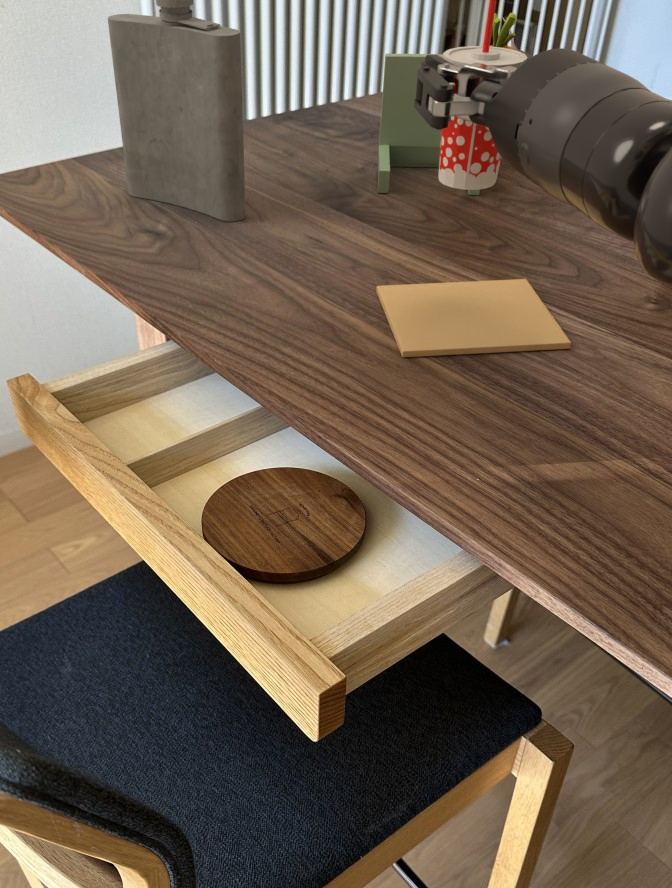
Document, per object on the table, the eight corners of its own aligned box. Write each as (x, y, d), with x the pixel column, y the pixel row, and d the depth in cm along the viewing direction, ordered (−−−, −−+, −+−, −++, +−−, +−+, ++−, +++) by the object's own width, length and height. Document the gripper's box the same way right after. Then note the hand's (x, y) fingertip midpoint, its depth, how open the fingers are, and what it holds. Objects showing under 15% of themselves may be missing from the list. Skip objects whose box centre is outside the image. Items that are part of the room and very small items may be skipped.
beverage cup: (507, 170, 70) (542, -31, 61) (503, 196, 66) (540, -17, 56) (433, 164, 71) (456, -34, 62) (424, 189, 67) (448, -21, 58)
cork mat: (525, 284, 79) (526, 278, 78) (569, 349, 70) (571, 342, 69) (376, 291, 78) (376, 285, 78) (402, 357, 69) (402, 351, 69)
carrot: (462, 140, 110) (480, 7, 100) (501, 140, 110) (522, 6, 100) (467, 153, 107) (486, 15, 97) (507, 153, 106) (530, 15, 96)
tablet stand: (471, 164, 103) (487, 54, 95) (479, 195, 96) (497, 78, 88) (377, 163, 104) (385, 53, 96) (377, 193, 97) (386, 76, 89)
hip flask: (122, 193, 97) (97, -12, 84) (146, 183, 100) (125, -18, 86) (234, 223, 90) (225, 5, 77) (256, 211, 93) (251, -2, 79)
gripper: (698, 56, 52) (565, 5, 64) (479, 71, 49) (384, 15, 62) (661, 182, 57) (544, 112, 69) (460, 201, 54) (376, 125, 66)
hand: (469, 66), depth 65 cm, fingers closed on beverage cup, 6 cm apart
